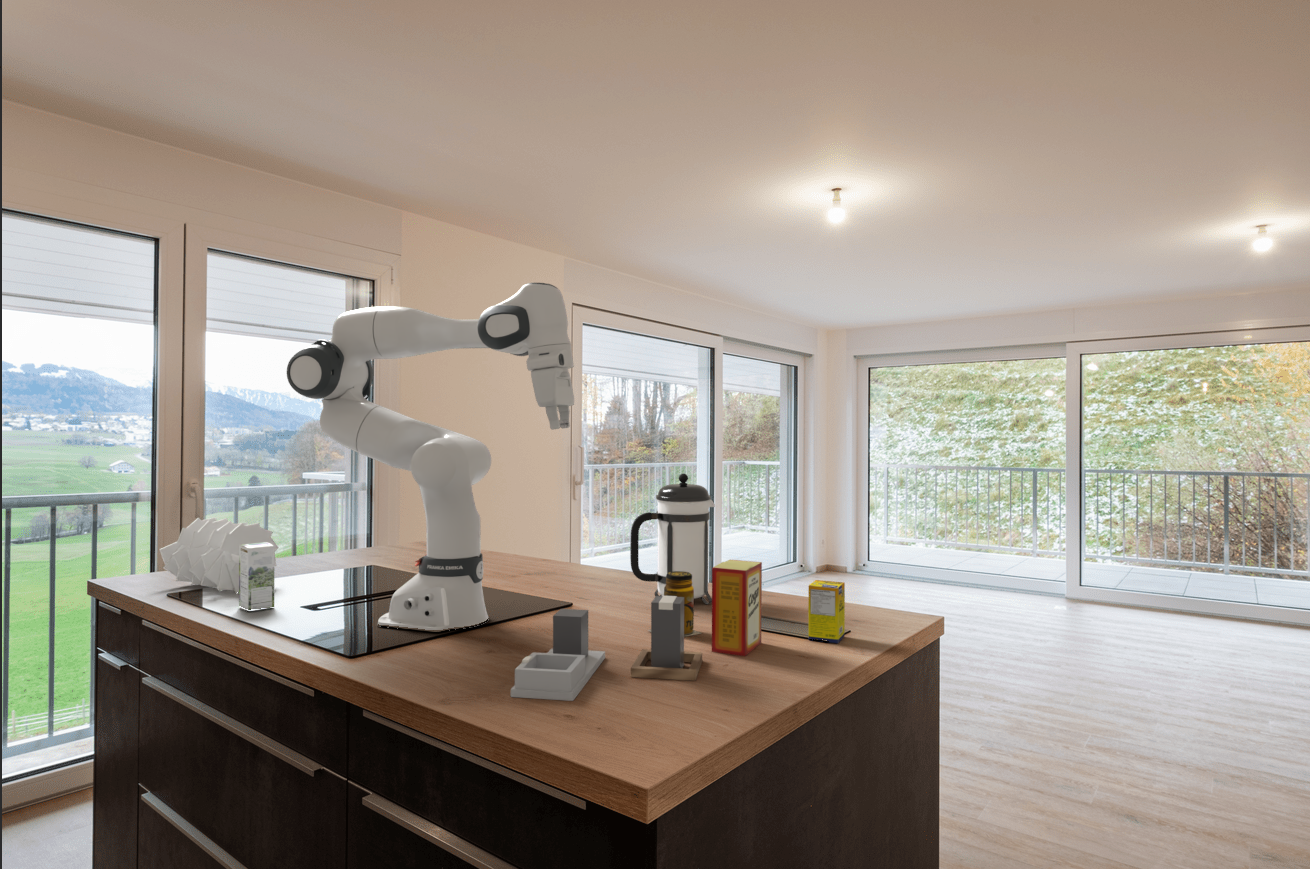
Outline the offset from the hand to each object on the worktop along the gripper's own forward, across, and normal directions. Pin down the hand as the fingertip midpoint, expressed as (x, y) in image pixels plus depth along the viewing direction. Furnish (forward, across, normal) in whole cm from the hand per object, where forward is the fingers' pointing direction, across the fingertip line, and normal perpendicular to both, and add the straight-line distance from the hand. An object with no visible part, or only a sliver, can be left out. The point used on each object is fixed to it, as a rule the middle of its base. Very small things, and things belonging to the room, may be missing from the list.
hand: (560, 428), depth 165 cm
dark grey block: (+44, +24, +18) cm, 53 cm away
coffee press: (+44, -26, +17) cm, 54 cm away
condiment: (+44, +2, +18) cm, 48 cm away
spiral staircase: (+28, -27, -96) cm, 104 cm away
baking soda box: (+46, +10, +30) cm, 56 cm away
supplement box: (+48, +2, +47) cm, 68 cm away
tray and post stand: (+41, +30, +1) cm, 51 cm away
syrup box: (+31, -8, -76) cm, 82 cm away
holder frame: (+44, +24, +18) cm, 53 cm away
